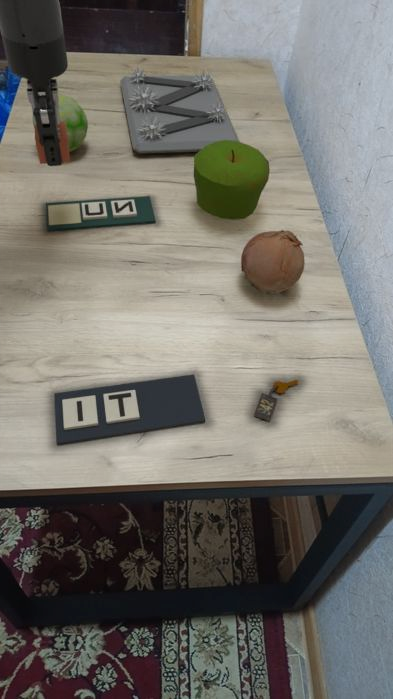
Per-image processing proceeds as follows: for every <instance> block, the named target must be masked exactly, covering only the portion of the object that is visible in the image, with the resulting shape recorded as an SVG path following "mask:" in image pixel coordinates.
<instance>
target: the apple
mask: <svg viewBox="0 0 393 699" xmlns="http://www.w3.org/2000/svg"><path fill="white" fill-rule="evenodd" d="M239 141H240V140H239ZM239 141H232V140H223V141H217V142H214V143H212V144H209V145H207V146H205V147H204V148H203V149H201V150H200V151H199V152H196V154H195V155H194V156H193V180H194V181H193V182H194V184H195V186H194V187H195V191H196V204H197V205H198V207H199V208H200V209H201V210H202V211H203V212H204V213H206V214H208V215H210V216H213V217H215V218H219V219H222V220H232V221H233V220H234V221H235V220H241V219H246V218H248V217H249V216H251V215H253V214H254V212H255V211H256V209H257V206H258V203H259V201H260V198H261V195H262V193H263V190H264V189H265V187H266V186H267V183H268V181H269V178H270V162H269V160H268V159H267V158H266V156H265V155H264V154H263V153H262V152H261V151H260V150H259V149H258V148H255V147H253V146H252V145H250V144H247V143H244V142H241V141H240V142H239Z"/></svg>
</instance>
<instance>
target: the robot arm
mask: <svg viewBox="0 0 393 699" xmlns="http://www.w3.org/2000/svg"><path fill="white" fill-rule="evenodd" d="M61 9H62V8H61V3H60V1H59V0H0V35H1V39H2V44H3V48H4V52H5V58H6V60H7V65H8V69H9V70H10V72H11V73H12V74H13V75H15V76H16V77H19V78H21V79H25V80H26V85H27V88H26V93H27V99H28V102H29V104H30V106H31V111H32V118H33V117H34V123H35V125H36V126H37V129H38V134H39V138H40V139H39V142H40V143H41V146H44V151H45V156H46V162H47V163H46V165H47V166H49V167H60V166H62V165H63V163H62V157H61V151H60V145H59V142H60V136H59V135H58V128H57V126H58V125H59V124H60V116H59V110H58V109H59V104H58V101H59V97H58V94H59V88H58V79H57V78H58V77H60V76H61V75H63V74H64V73H65V72H66V71H67V70H68V66H69V62H68V54H67V47H66V40H65V33H64V32H65V31H64V24H63V17H62V10H61Z"/></svg>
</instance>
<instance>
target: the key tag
mask: <svg viewBox="0 0 393 699" xmlns="http://www.w3.org/2000/svg"><path fill="white" fill-rule="evenodd" d="M298 383H299V380H298V379H295V380H291V381H289V382H286V381H278V380H277V381H275V382H273V383H272V384H273V385H272V388H271V389H270V390H269V392H268V394H266V393H263V392H261V395H260V397H259V400H258V402H257V405H256V408H255V411H254V413H253V416H254V417H256V418H259V419H262V420H264V421H266V422H271V419H272V416H273V414H274V411H275V409H276V405H277V402H278V398H277V397H274V396H272V395H273V393H274V392H275V393H278V394H284V393H286V391H287V389H289V387H292V386H295V385H298Z"/></svg>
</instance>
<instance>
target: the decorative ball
mask: <svg viewBox="0 0 393 699" xmlns="http://www.w3.org/2000/svg"><path fill="white" fill-rule="evenodd" d="M58 97H59V101H58V104H59V109H58V110H59V116H60V122H61V121H65V124H66V130H67V137H68V144H69V153H70V152H73V151H75V150H77V149H78V148H79V147H80V146H81V145H82V144H83V143H84V141H85V139H86V137H87V134H88V128H89V122H88V118H87V115H86V113H85V111H84V109H83V108H82V106H81V105H80V104H79V103H78V102H77V101H76V100H75V99H74V98H72V97H70V96H68V95H65V94H62V93H58ZM32 125H33V129H34V130H35V123H34V117H33V116H32Z"/></svg>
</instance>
